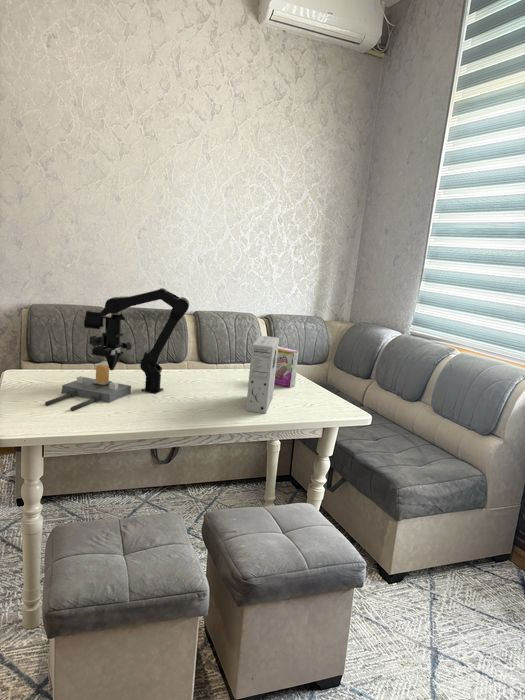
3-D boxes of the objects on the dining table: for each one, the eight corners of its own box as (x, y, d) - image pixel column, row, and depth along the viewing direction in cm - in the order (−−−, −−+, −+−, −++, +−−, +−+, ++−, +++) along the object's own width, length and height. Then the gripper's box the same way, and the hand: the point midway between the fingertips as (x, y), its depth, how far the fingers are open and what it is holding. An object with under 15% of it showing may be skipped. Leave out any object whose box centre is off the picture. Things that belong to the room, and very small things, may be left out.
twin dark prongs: (73, 394, 185) (73, 391, 185) (100, 400, 182) (100, 396, 182) (43, 405, 171) (44, 401, 170) (72, 411, 168) (73, 407, 167)
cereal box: (254, 395, 207) (260, 335, 202) (272, 397, 206) (279, 337, 202) (245, 411, 186) (252, 344, 181) (266, 413, 185) (272, 346, 181)
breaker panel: (85, 384, 199) (85, 372, 198) (130, 393, 194) (131, 380, 193) (58, 394, 184) (58, 381, 183) (106, 404, 178) (107, 390, 177)
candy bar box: (268, 382, 229) (272, 347, 226) (274, 381, 233) (277, 346, 230) (289, 388, 224) (293, 351, 220) (295, 386, 228) (299, 350, 225)
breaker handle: (100, 380, 195) (100, 364, 194) (111, 382, 193) (112, 366, 192) (92, 383, 190) (92, 366, 189) (103, 385, 189) (104, 368, 188)
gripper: (108, 324, 205) (107, 362, 208) (79, 330, 187) (78, 371, 190) (133, 328, 202) (131, 366, 205) (106, 334, 184) (104, 376, 187)
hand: (111, 370), depth 197 cm, fingers closed
